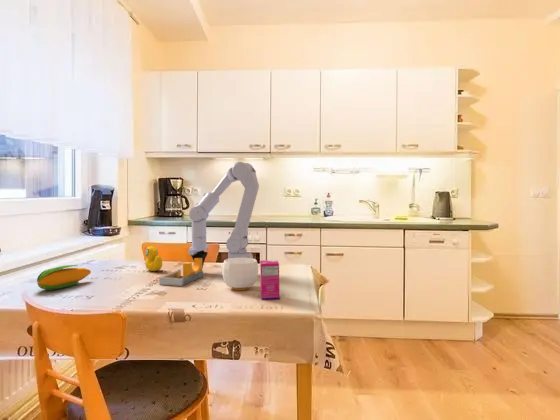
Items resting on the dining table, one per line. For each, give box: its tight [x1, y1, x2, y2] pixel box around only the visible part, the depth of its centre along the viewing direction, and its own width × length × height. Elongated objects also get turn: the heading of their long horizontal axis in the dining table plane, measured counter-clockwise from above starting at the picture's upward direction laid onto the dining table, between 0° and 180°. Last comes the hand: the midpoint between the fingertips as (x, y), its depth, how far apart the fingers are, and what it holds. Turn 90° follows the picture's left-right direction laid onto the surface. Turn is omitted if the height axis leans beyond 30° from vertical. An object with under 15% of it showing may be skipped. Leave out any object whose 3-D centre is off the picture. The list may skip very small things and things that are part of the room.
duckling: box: [144, 245, 163, 272], centre depth 170 cm, size 11×5×10 cm, turn 47°
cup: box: [221, 258, 259, 291], centre depth 142 cm, size 12×12×10 cm
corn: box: [36, 264, 91, 291], centre depth 144 cm, size 7×8×20 cm
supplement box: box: [259, 259, 281, 301], centre depth 130 cm, size 6×6×12 cm
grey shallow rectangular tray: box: [158, 269, 204, 287], centre depth 153 cm, size 11×15×2 cm
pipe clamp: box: [182, 258, 203, 278], centre depth 158 cm, size 12×4×6 cm, turn 168°
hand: (199, 270), depth 167 cm, fingers closed
